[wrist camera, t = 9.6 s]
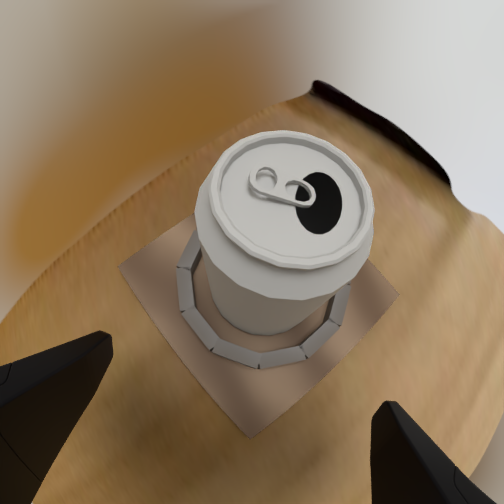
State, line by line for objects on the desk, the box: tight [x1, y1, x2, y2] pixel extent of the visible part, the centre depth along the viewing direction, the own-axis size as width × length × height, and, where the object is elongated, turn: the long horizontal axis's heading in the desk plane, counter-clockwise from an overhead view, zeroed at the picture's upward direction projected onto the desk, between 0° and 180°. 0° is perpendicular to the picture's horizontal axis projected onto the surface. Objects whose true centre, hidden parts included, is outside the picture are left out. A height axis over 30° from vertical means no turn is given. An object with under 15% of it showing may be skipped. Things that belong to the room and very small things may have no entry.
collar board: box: [118, 213, 400, 439], centre depth 21 cm, size 16×16×3 cm
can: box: [195, 130, 375, 336], centre depth 15 cm, size 8×8×12 cm
